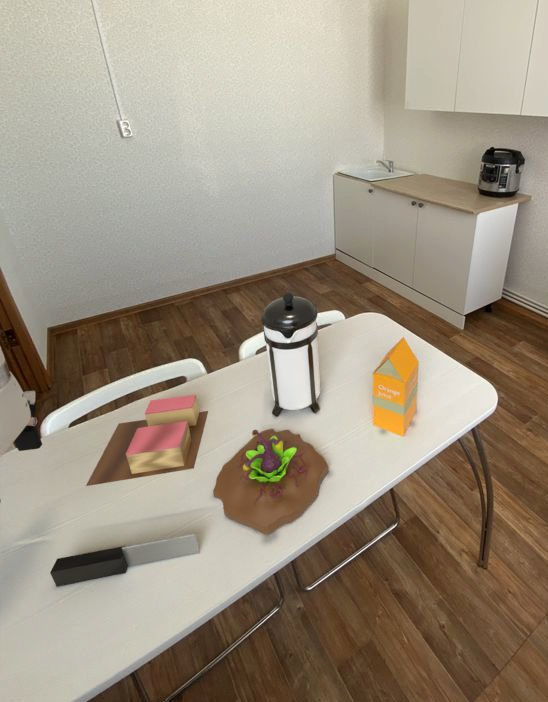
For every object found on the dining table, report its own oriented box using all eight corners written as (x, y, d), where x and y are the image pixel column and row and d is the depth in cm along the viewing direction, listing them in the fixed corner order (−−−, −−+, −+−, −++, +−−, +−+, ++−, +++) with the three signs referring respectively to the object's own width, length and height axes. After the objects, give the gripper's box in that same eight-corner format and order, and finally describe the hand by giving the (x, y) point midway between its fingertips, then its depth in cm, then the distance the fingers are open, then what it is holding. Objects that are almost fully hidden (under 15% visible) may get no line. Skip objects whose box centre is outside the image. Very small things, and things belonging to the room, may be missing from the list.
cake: (86, 489, 75) (77, 465, 72) (119, 426, 89) (113, 404, 87) (194, 472, 78) (189, 448, 76) (209, 413, 93) (204, 392, 91)
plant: (273, 556, 63) (266, 508, 59) (199, 496, 73) (189, 452, 69) (342, 465, 79) (340, 423, 75) (273, 426, 89) (269, 387, 85)
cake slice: (149, 432, 87) (144, 413, 85) (155, 418, 90) (150, 400, 88) (196, 425, 88) (192, 406, 86) (199, 412, 92) (195, 394, 90)
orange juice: (416, 410, 93) (420, 340, 86) (403, 437, 85) (406, 362, 78) (387, 400, 96) (388, 332, 89) (372, 424, 89) (371, 352, 82)
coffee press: (341, 395, 98) (337, 290, 87) (291, 432, 87) (279, 317, 77) (299, 366, 109) (291, 270, 99) (250, 396, 98) (235, 291, 88)
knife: (56, 587, 59) (47, 568, 58) (63, 572, 61) (55, 554, 60) (198, 558, 63) (193, 540, 61) (200, 545, 65) (196, 527, 63)
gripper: (-14, 347, 59) (19, 432, 65) (-126, 437, 43) (-69, 540, 49) (41, 342, 60) (68, 427, 66) (-48, 428, 44) (-1, 530, 50)
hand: (10, 475), depth 57 cm, fingers open, 9 cm apart
